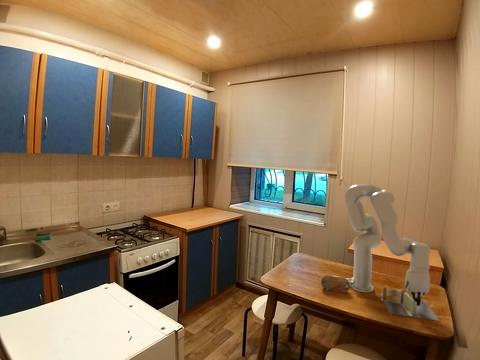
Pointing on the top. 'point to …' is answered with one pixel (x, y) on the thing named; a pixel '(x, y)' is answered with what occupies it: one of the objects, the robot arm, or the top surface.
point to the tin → (335, 283)
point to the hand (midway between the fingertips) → (416, 304)
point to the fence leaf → (409, 303)
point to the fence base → (396, 306)
